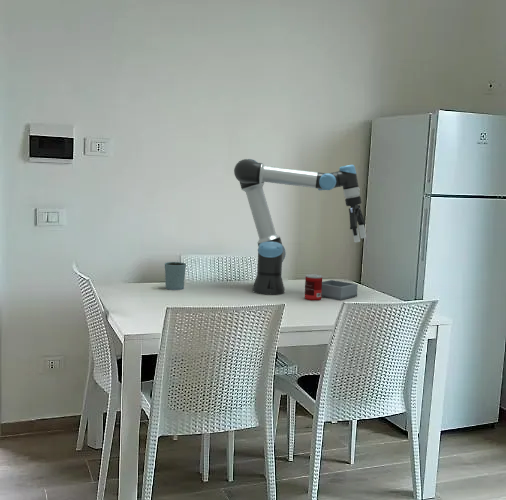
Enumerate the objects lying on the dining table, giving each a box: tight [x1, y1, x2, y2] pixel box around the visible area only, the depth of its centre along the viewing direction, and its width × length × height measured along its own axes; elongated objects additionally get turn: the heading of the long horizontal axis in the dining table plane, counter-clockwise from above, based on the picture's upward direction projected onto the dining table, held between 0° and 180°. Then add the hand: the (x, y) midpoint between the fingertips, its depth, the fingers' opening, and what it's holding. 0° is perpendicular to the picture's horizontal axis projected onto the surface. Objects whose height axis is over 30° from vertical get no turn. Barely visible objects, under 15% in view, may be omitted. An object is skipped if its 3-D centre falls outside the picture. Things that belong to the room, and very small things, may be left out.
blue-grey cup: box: [164, 261, 187, 291], centre depth 329 cm, size 10×10×12 cm
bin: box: [321, 279, 359, 301], centre depth 327 cm, size 15×15×6 cm
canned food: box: [304, 273, 323, 301], centre depth 317 cm, size 8×8×11 cm
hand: (360, 240), depth 336 cm, fingers open, 13 cm apart
